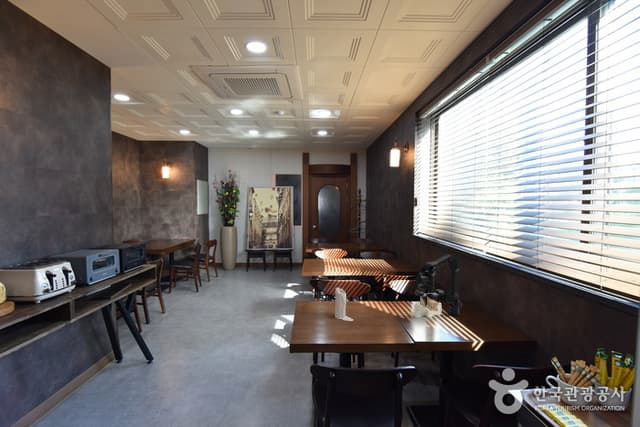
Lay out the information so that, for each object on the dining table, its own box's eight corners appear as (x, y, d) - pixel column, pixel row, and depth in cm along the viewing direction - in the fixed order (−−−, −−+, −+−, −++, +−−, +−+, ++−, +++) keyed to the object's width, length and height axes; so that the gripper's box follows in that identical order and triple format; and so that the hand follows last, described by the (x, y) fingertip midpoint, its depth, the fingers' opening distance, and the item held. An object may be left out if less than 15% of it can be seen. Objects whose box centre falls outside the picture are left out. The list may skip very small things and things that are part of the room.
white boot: (350, 322, 207) (351, 291, 207) (332, 317, 215) (333, 287, 215) (356, 319, 213) (356, 289, 212) (338, 314, 221) (339, 285, 221)
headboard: (440, 314, 227) (440, 302, 227) (444, 316, 221) (444, 304, 221) (412, 315, 223) (412, 303, 223) (416, 318, 217) (416, 305, 217)
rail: (425, 303, 222) (425, 295, 221) (437, 311, 206) (438, 302, 206) (420, 304, 221) (420, 296, 221) (431, 311, 205) (432, 302, 205)
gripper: (435, 279, 223) (435, 301, 223) (410, 279, 219) (410, 302, 219) (444, 283, 212) (444, 306, 212) (418, 283, 208) (418, 307, 209)
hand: (428, 305), depth 213 cm, fingers closed on rail, 4 cm apart
